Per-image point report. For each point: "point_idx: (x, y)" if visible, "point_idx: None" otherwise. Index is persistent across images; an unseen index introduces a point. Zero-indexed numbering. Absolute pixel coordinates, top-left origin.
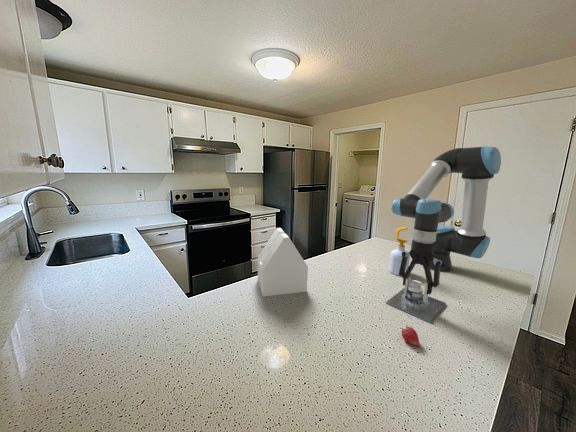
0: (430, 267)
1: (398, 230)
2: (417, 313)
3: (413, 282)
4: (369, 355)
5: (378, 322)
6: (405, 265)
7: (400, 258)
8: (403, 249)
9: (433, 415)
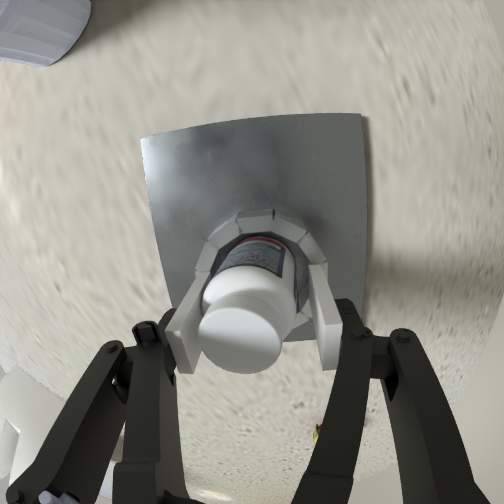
0: None
1: None
2: (306, 328)
3: (232, 361)
4: (290, 468)
5: (244, 421)
6: (99, 415)
7: (4, 32)
8: None
9: (385, 463)
